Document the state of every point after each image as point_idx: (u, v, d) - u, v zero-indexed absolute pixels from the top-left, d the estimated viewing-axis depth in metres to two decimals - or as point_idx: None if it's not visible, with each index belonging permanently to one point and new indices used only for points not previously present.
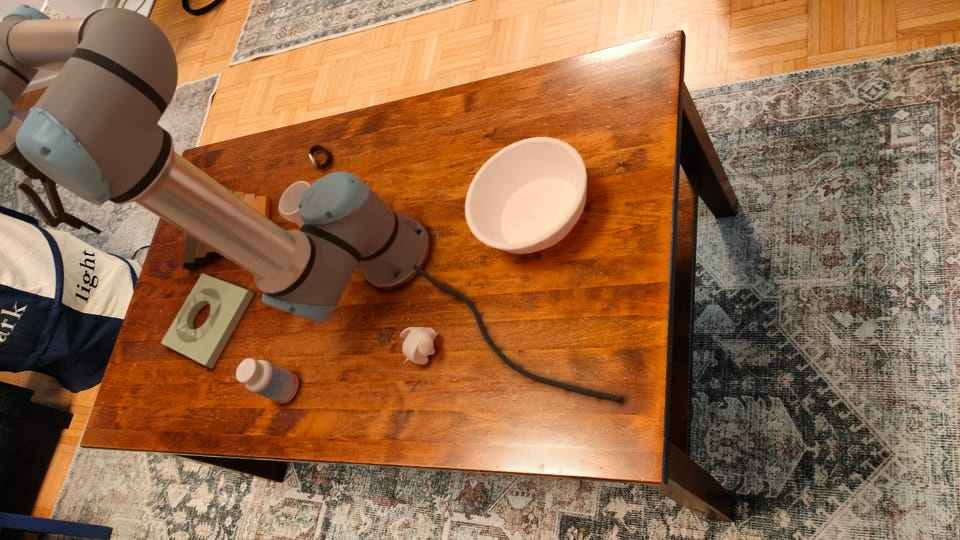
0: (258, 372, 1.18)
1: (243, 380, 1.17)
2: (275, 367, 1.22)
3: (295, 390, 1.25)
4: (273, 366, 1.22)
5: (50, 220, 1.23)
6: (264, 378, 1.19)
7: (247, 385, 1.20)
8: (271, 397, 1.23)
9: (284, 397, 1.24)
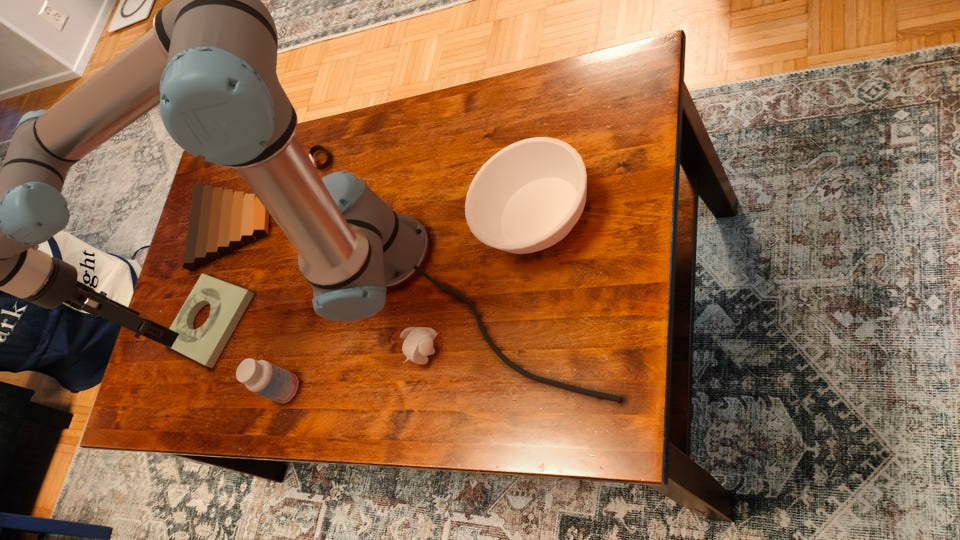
0: (258, 371, 1.18)
1: (243, 380, 1.18)
2: (275, 367, 1.22)
3: (295, 390, 1.25)
4: (273, 366, 1.22)
5: None
6: (264, 378, 1.19)
7: (247, 385, 1.20)
8: (271, 397, 1.23)
9: (284, 397, 1.24)
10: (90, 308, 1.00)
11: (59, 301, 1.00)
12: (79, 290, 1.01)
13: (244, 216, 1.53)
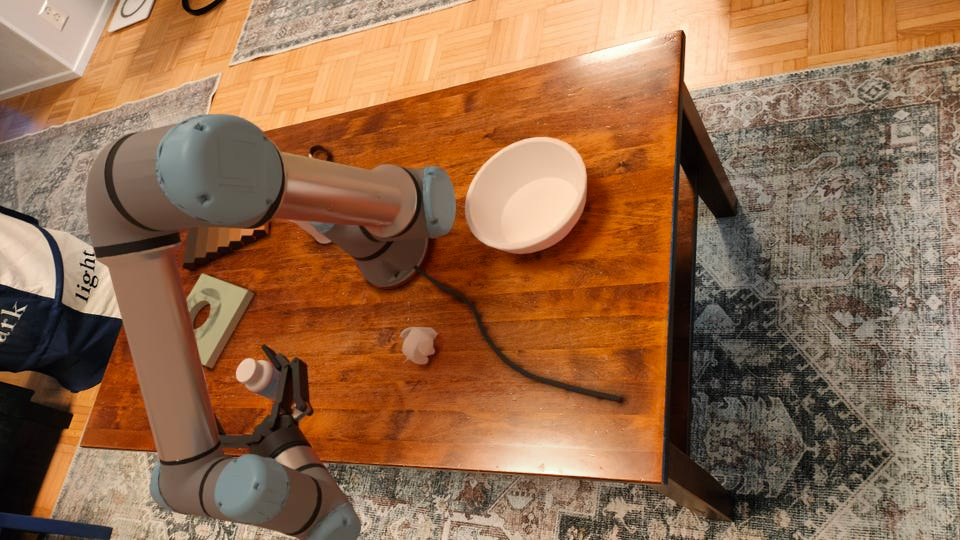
0: (258, 371, 1.18)
1: (243, 380, 1.17)
2: None
3: None
4: (273, 366, 1.22)
5: (296, 365, 1.02)
6: (264, 378, 1.19)
7: (247, 385, 1.20)
8: (271, 397, 1.23)
9: None
10: None
11: None
12: None
13: None
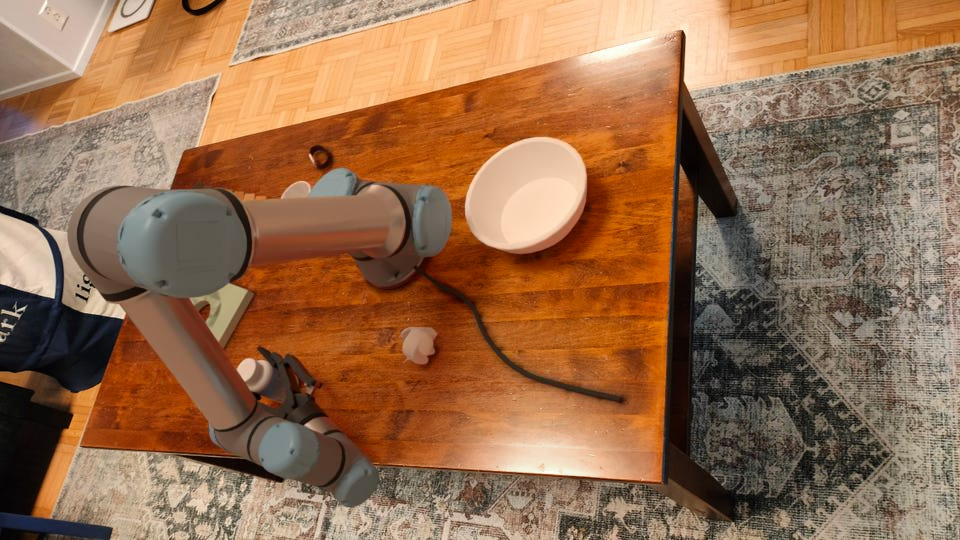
0: (258, 371, 1.18)
1: None
2: None
3: None
4: None
5: (290, 358, 1.20)
6: (264, 378, 1.19)
7: (247, 385, 1.20)
8: (271, 397, 1.23)
9: (284, 398, 1.24)
10: None
11: None
12: None
13: None
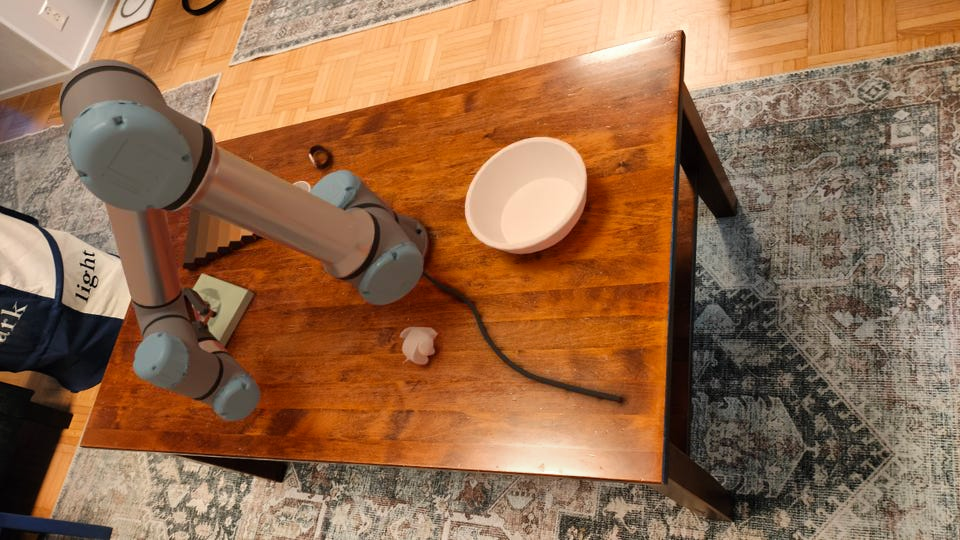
0: None
1: None
2: None
3: None
4: None
5: (188, 291, 1.23)
6: None
7: None
8: None
9: None
10: None
11: None
12: None
13: None
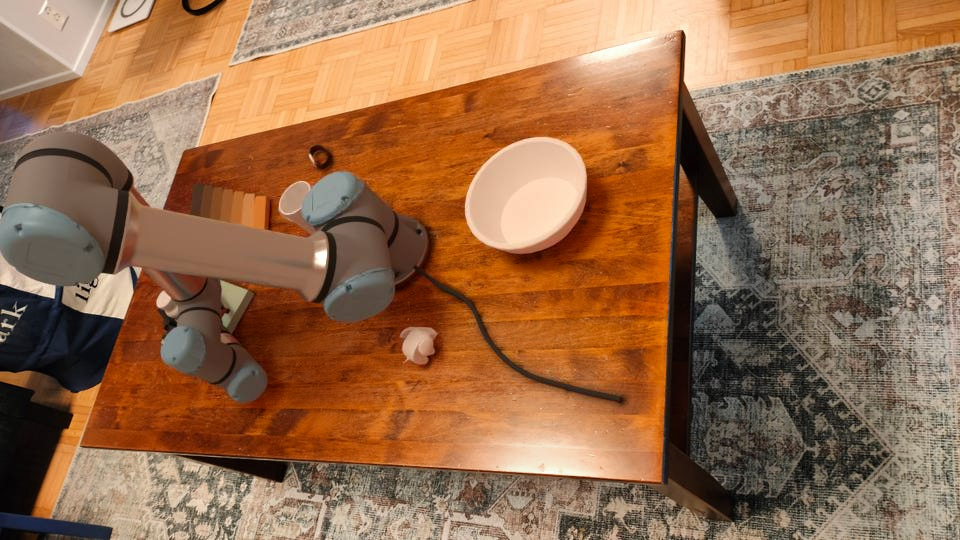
0: None
1: (162, 306, 1.38)
2: None
3: None
4: None
5: None
6: None
7: (166, 311, 1.41)
8: None
9: None
10: None
11: None
12: None
13: (244, 216, 1.53)
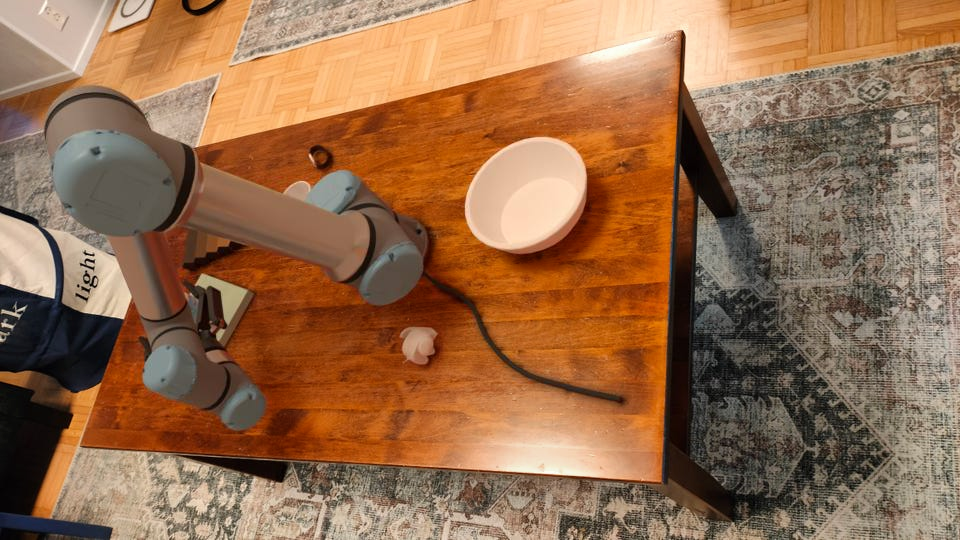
0: None
1: None
2: (191, 297, 1.43)
3: None
4: (189, 296, 1.43)
5: (210, 291, 1.25)
6: None
7: None
8: None
9: None
10: None
11: None
12: None
13: None
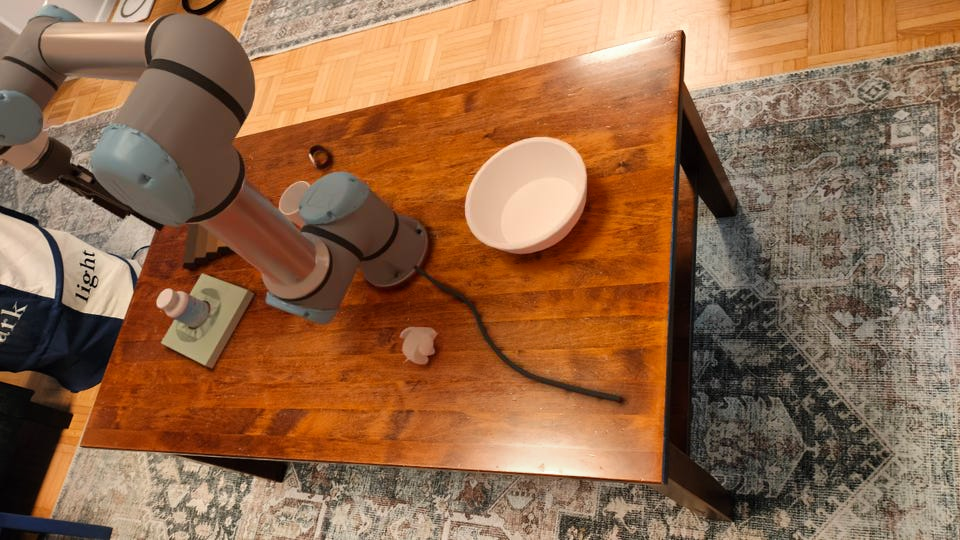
0: (175, 299, 1.39)
1: (162, 306, 1.38)
2: (191, 297, 1.43)
3: None
4: (189, 296, 1.43)
5: None
6: (180, 305, 1.40)
7: (166, 311, 1.41)
8: (188, 323, 1.44)
9: (200, 324, 1.45)
10: None
11: None
12: None
13: None
